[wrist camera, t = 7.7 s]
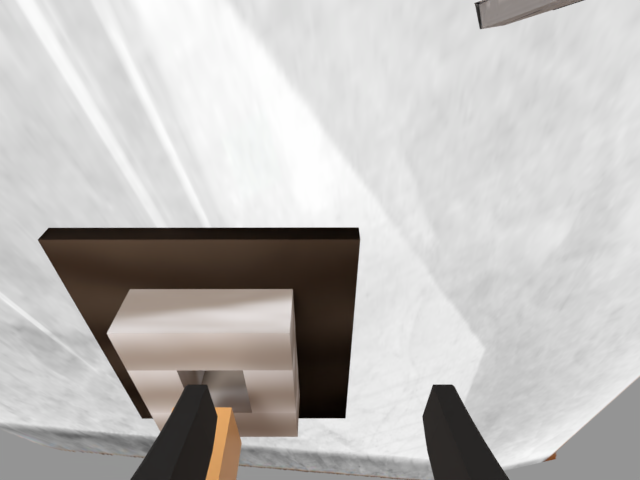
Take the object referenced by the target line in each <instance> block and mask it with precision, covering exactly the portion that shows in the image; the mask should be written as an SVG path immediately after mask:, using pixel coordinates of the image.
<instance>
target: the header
mask: <svg viewBox="0 0 640 480" xmlns="http://www.w3.org/2000/svg"><path fill="white" fill-rule="evenodd" d="M38 241H39V243H40V245H41V246H42V248H43V250H44V252H45V253H46V255H47V257H48V258H49V260H50V262H51V264H52V265H53V267H54V269H55V270H56V272H57V274H58V276H59V277H60V279H61V281H62V282H63V284H64V286H65V288H66V289H67V291H68V293H69V294H70V296H71V298H72V300H73V301H74V303H75V305H76V306H77V308H78V310H79V312H80V313H81V315H82V317H83V318H84V320H85V322H86V324H87V325H88V327H89V329H90V330H91V332H92V334H93V336H94V337H95V339H96V341H97V342H98V344H99V346H100V348H101V349H102V351H103V353H104V354H105V356H106V358H107V360H108V361H109V363H110V365H111V366H112V368H113V370H114V372H115V373H116V375H117V377H118V378H119V380H120V382H121V383H122V385H123V387H124V389H125V390H126V392H127V394H128V395H129V397H130V399H131V401H132V402H133V404H134V406H135V407H136V409H137V411H138V413H139V414H140V416H141V418H142V419H154V421H155V423H156V425H157V426H158V428H159V430H160V432H161V430H162V428H163V427H164V425H165V423H166V421H167V420H168V418H169V416H170V414H171V412H172V409H173V408H174V407H175V405H176V403H177V402H178V400H179V398H180V396H181V394H182V392H183V390H184V388H185V386H187V385H188V384H207V386H208V389H209V392H210V395H211V398H212V401H213V404H214V407H232V410H233V414H234V417H235V421H236V424H237V428H238V431H239V435H240V437H298V419H299V418H346V407H347V395H348V383H349V370H350V358H351V346H352V334H353V322H354V310H355V298H356V286H357V274H358V261H359V249H360V233H359V227H264V228H48V229H47V230H46V231H45V232H44V233H43V234H42V236H41V237H40V238H39V239H38Z"/></svg>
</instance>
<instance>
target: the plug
mask: <svg viewBox="0 0 640 480" xmlns="http://www.w3.org/2000/svg"><path fill="white" fill-rule="evenodd" d="M173 409H174V408H173ZM173 409H172V411H173ZM215 410H216V413H217V416H218V418H217V425H216V433H215V440H214V446H213V452H212V456H211V460H210V464H209V468H208V472H207V476H206V480H236V478H237V471H238V465H239V458H240V451H241V445H242V442H241V439H240V435H239V431H238V428H237V424H236V421H235V417H234V414H233V410H232V407H215ZM171 413H172V412H171Z"/></svg>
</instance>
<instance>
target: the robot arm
mask: <svg viewBox="0 0 640 480" xmlns="http://www.w3.org/2000/svg"><path fill="white" fill-rule="evenodd" d="M217 418H218V416H217V413H216V410H215V407H214V404H213V401H212V398H211V395H210V392H209V389H208V386H207V384H188V385H187V386H185V388H184V390H183V392H182V394H181V396H180V398H179V400H178V402H177V403H176V405H175V407H174V409H173V411H172V413H171V414H170V416H169V418H168V420H167V421H166V423H165V425H164V427H163V428H162V430H161V432H160V434H159V435H158V437H157V438H156V440H155V442H154V443H153V445H152V447H151V448H150V450H149V451H148V453H147V455H146V456H145V458H144V459H143V461H142V463H141V464H140V466H139V467H138V469H137V470H136V472H135V473H134V475H133V476H132V478H131V479H130V480H206V476H207V472H208V468H209V464H210V460H211V456H212V452H213V446H214V440H215V433H216V425H217ZM422 418H423V425H424V433H425V439H426V446H427V452H428V456H429V460H430V464H431V468H432V472H433V476H434V480H510V479H509V478H508V476H507V475H506V473H505V472H504V470H503V469H502V467H501V466H500V464H499V463H498V461H497V460H496V458H495V456H494V455H493V453H492V452H491V450H490V448H489V447H488V445H487V444H486V442H485V440H484V439H483V437H482V435H481V434H480V432H479V430H478V429H477V427H476V425H475V423H474V422H473V420H472V418H471V416H470V415H469V413H468V411H467V409H466V407H465V406H464V404H463V402H462V400H461V398H460V396H459V394H458V392H457V390H456V388H455V386H453V385H452V384H433V386H432V389H431V392H430V395H429V398H428V401H427V404H426V407H425V410H424V413H423V416H422Z"/></svg>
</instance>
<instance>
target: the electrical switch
mask: <svg viewBox="0 0 640 480" xmlns="http://www.w3.org/2000/svg"><path fill="white" fill-rule="evenodd" d="M581 1H584V0H481V1H479V2H476V3H474V4H475V7H476V12H477V17H478V22H479V28H480V29H485V28H491V27H497V26H504V25H507V24H510V23H513V22H516V21H520V20H523V19H526V18H529V17H532V16H535V15H538V14H541V13H545V12H548V11H551V10H556V9H559V8H562V7H565V6H568V5H572V4H575V3H578V2H581Z"/></svg>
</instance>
